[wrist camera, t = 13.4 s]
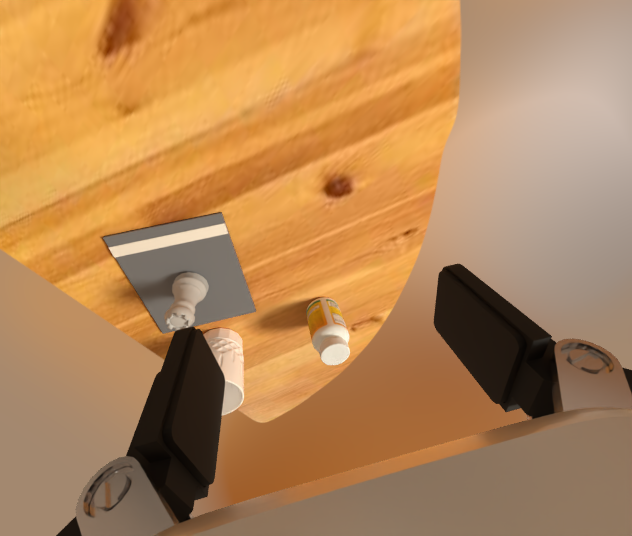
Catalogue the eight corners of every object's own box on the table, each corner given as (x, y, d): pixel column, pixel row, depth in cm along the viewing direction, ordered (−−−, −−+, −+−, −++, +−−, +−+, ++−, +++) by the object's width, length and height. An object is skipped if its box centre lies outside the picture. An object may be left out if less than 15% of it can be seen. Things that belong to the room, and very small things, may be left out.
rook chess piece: (185, 301, 39) (170, 343, 32) (167, 277, 37) (146, 316, 30) (215, 290, 39) (206, 330, 32) (198, 265, 37) (185, 302, 30)
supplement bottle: (338, 294, 44) (357, 338, 36) (337, 320, 47) (353, 365, 39) (305, 298, 43) (316, 343, 35) (305, 323, 46) (315, 371, 38)
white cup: (184, 347, 44) (167, 406, 35) (215, 316, 42) (204, 370, 33) (226, 366, 47) (220, 423, 39) (256, 338, 45) (256, 392, 37)
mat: (104, 236, 33) (102, 238, 32) (221, 212, 34) (221, 213, 34) (163, 331, 41) (162, 334, 41) (255, 310, 42) (255, 312, 42)
